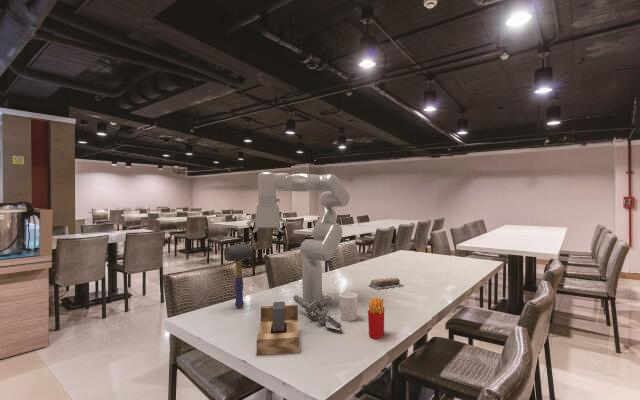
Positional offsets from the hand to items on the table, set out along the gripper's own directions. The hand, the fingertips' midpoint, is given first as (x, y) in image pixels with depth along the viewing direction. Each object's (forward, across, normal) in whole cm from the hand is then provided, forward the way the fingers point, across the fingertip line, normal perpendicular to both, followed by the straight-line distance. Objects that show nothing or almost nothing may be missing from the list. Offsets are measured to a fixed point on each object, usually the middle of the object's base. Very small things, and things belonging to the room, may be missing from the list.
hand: (267, 241), depth 134 cm
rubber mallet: (+34, +15, -18) cm, 41 cm away
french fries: (+34, -41, +21) cm, 57 cm away
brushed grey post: (+33, -5, +22) cm, 40 cm away
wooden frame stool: (+33, -5, +22) cm, 40 cm away
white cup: (+34, -34, +3) cm, 48 cm away
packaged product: (+34, -65, -44) cm, 86 cm away
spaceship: (+34, -19, +3) cm, 39 cm away
